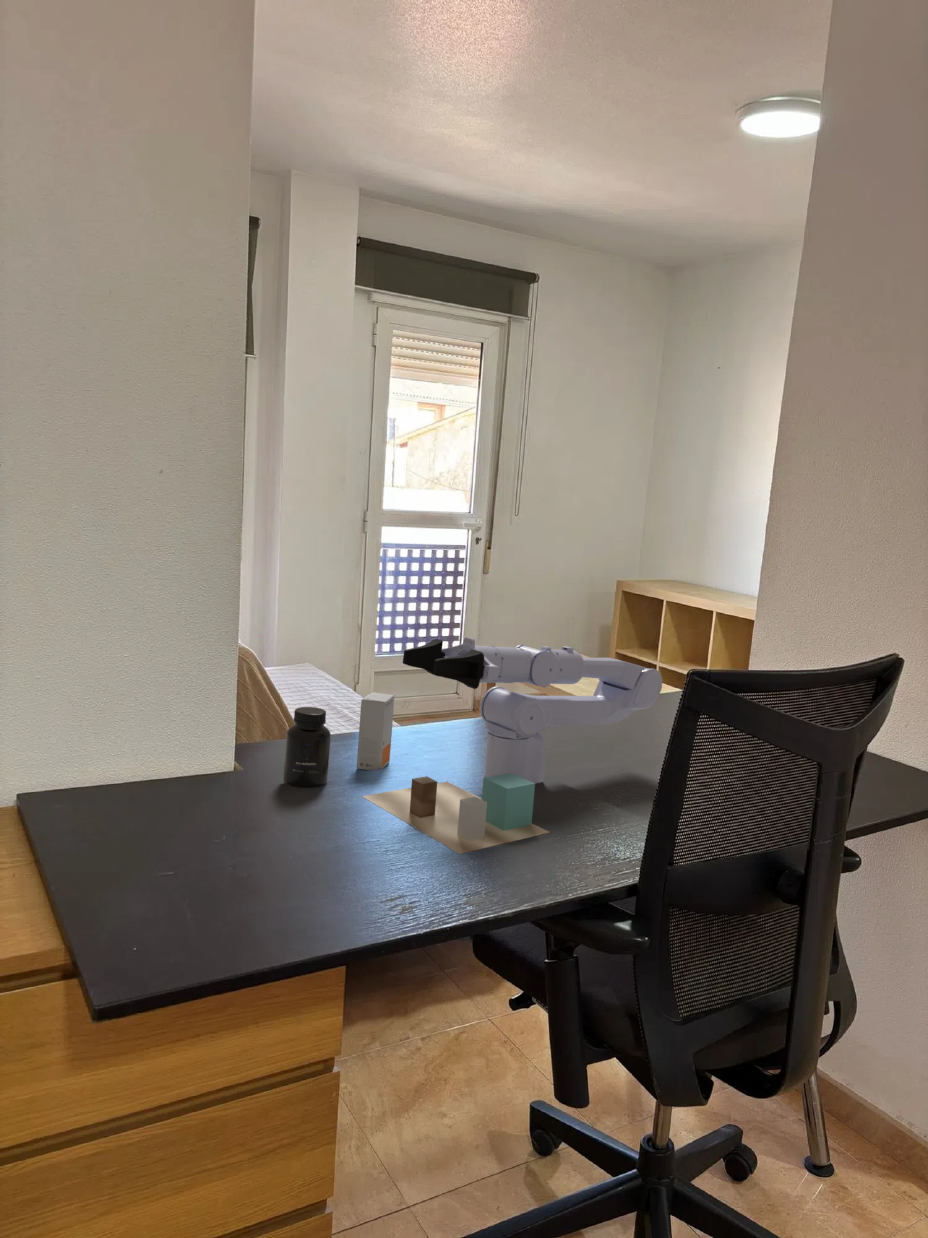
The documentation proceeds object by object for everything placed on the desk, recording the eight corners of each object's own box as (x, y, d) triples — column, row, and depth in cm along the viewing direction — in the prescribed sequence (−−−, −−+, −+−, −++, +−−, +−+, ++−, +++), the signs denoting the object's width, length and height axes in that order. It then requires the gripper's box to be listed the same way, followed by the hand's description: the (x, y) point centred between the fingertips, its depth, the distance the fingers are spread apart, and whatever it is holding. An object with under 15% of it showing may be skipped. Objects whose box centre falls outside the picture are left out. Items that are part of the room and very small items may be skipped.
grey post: (472, 831, 125) (475, 796, 125) (484, 837, 123) (487, 802, 123) (457, 834, 124) (460, 799, 123) (469, 841, 122) (472, 805, 121)
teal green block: (507, 812, 134) (511, 772, 133) (531, 824, 130) (535, 783, 129) (480, 818, 130) (483, 777, 130) (503, 830, 126) (507, 788, 126)
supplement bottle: (297, 795, 137) (301, 718, 135) (275, 782, 142) (278, 707, 140) (336, 788, 141) (340, 713, 139) (312, 775, 146) (316, 703, 144)
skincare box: (380, 772, 150) (385, 702, 149) (355, 769, 151) (360, 699, 149) (390, 762, 156) (395, 694, 155) (367, 759, 157) (371, 691, 155)
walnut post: (424, 809, 132) (426, 776, 132) (434, 815, 130) (437, 781, 130) (409, 812, 131) (412, 778, 130) (420, 818, 129) (422, 784, 128)
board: (446, 786, 146) (447, 781, 146) (549, 837, 127) (549, 832, 127) (361, 801, 136) (361, 796, 136) (459, 859, 117) (459, 853, 117)
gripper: (464, 631, 147) (395, 627, 139) (524, 647, 136) (453, 644, 128) (458, 674, 148) (389, 672, 139) (517, 693, 137) (446, 693, 128)
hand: (419, 662), depth 134 cm, fingers open, 7 cm apart
